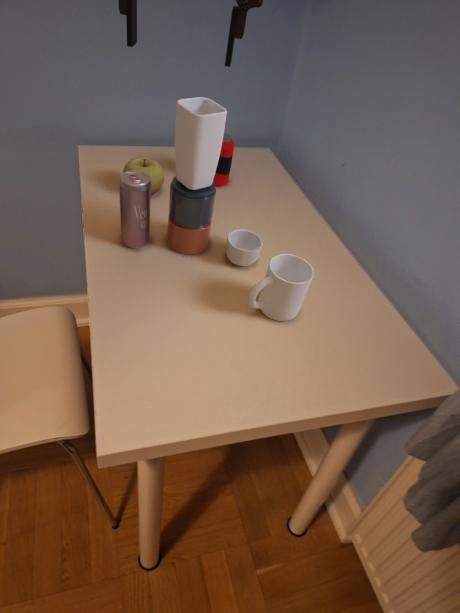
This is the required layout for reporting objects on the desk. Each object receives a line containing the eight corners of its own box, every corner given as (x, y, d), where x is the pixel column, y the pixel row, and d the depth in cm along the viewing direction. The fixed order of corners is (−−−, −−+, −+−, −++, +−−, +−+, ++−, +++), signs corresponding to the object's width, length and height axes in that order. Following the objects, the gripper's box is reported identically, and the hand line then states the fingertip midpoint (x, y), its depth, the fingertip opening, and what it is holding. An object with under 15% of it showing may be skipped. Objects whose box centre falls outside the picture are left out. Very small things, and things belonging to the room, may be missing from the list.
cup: (168, 178, 80) (172, 99, 70) (197, 171, 84) (206, 95, 74) (189, 196, 77) (197, 116, 66) (219, 188, 81) (231, 111, 70)
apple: (156, 178, 107) (157, 149, 102) (168, 198, 102) (170, 169, 96) (119, 181, 104) (118, 151, 98) (129, 202, 98) (128, 171, 92)
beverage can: (142, 230, 91) (142, 168, 80) (154, 245, 88) (156, 182, 77) (116, 236, 88) (113, 172, 77) (128, 252, 85) (127, 188, 74)
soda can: (197, 173, 113) (201, 130, 104) (221, 171, 116) (228, 130, 107) (207, 187, 108) (213, 144, 100) (232, 185, 111) (240, 143, 103)
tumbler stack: (163, 250, 87) (166, 190, 77) (171, 226, 94) (174, 168, 84) (205, 257, 88) (214, 199, 78) (210, 233, 94) (218, 176, 84)
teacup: (261, 271, 87) (266, 251, 84) (226, 271, 86) (230, 251, 82) (251, 243, 94) (256, 223, 90) (219, 242, 92) (223, 222, 89)
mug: (254, 332, 75) (266, 292, 68) (234, 301, 80) (243, 261, 72) (306, 316, 80) (322, 278, 73) (284, 289, 85) (297, 250, 77)
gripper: (60, -215, 38) (82, 42, 53) (314, -154, 40) (267, 79, 55) (85, -201, 44) (99, 29, 59) (310, -147, 45) (267, 64, 60)
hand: (180, 54), depth 57 cm, fingers open, 13 cm apart
